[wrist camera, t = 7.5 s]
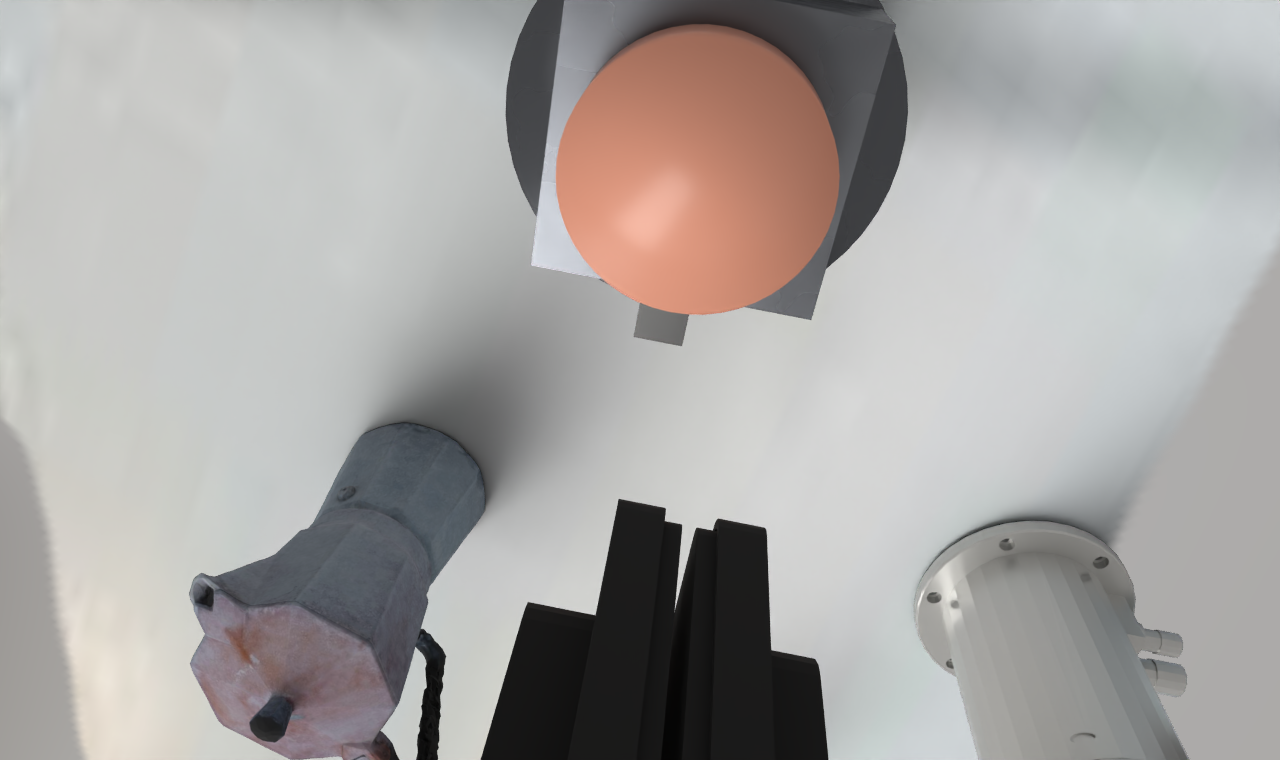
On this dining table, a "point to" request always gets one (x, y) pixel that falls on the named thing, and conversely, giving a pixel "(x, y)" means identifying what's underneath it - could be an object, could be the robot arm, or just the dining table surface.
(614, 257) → the pink rounded piece
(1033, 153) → the dining table surface
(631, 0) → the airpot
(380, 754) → the moka pot
